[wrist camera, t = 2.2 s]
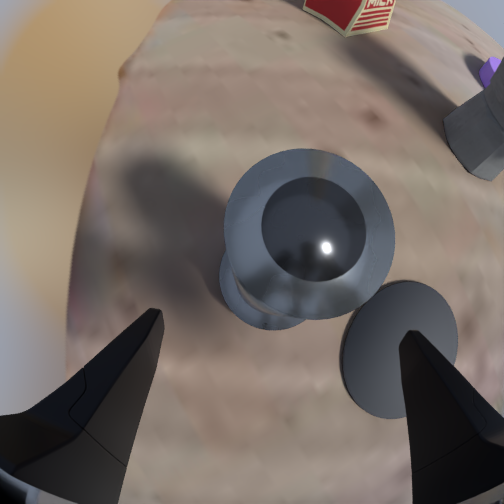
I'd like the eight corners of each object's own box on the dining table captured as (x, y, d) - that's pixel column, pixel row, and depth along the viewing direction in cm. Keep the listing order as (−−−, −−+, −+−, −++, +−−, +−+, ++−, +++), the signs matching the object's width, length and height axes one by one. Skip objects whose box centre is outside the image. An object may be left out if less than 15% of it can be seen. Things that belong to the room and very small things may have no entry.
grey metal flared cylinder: (279, 349, 19) (335, 405, 7) (200, 284, 20) (135, 244, 8) (339, 270, 20) (450, 217, 8) (263, 210, 21) (288, 90, 9)
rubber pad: (406, 437, 18) (407, 438, 17) (312, 373, 19) (313, 374, 19) (472, 330, 20) (474, 330, 19) (395, 253, 21) (397, 253, 20)
